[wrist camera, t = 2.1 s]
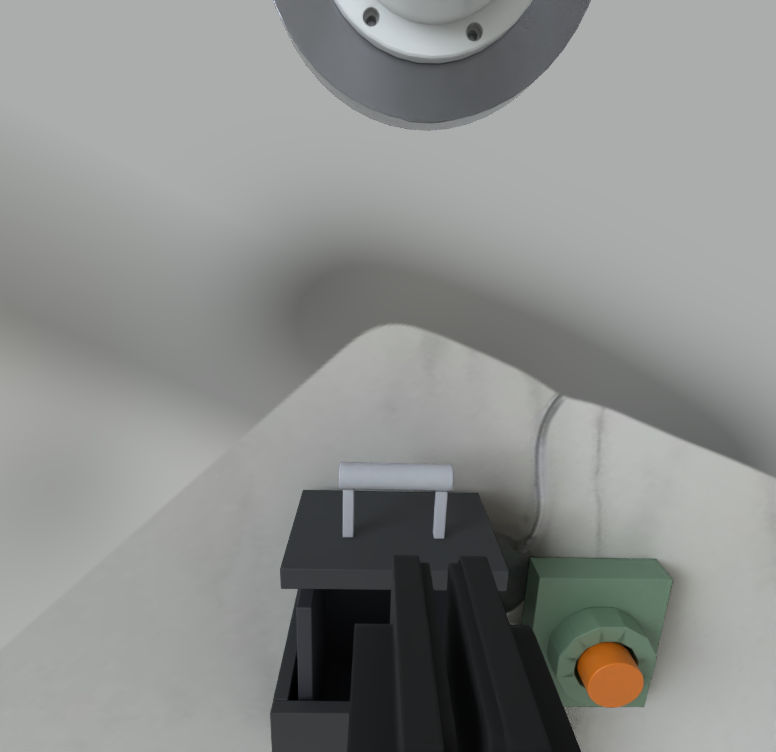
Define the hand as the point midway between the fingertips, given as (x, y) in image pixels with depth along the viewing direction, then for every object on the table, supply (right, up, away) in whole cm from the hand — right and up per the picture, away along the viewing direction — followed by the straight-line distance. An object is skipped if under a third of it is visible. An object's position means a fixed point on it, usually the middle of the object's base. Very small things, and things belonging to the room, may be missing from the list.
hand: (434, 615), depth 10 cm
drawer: (-1, -7, +23) cm, 24 cm away
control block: (+13, -13, +26) cm, 32 cm away
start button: (+13, -14, +23) cm, 30 cm away
